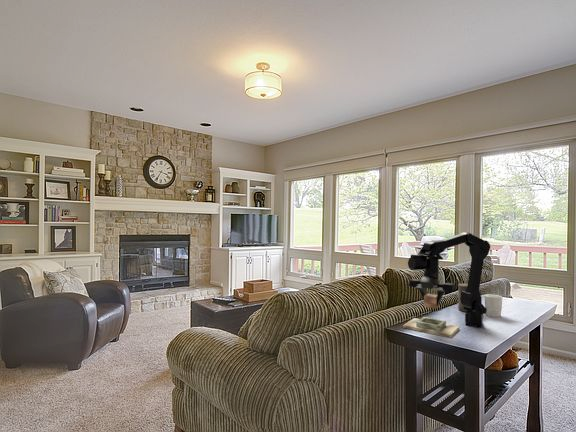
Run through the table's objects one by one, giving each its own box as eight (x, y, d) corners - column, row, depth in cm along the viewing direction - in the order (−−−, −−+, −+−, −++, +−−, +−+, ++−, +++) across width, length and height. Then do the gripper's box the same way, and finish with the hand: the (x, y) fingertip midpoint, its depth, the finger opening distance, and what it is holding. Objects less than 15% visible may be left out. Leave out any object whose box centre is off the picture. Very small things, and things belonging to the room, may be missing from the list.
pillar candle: (481, 313, 182) (481, 284, 183) (460, 312, 184) (461, 283, 184) (475, 308, 192) (475, 281, 192) (455, 307, 194) (456, 280, 194)
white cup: (480, 314, 181) (480, 294, 181) (491, 312, 184) (492, 293, 184) (494, 318, 174) (494, 298, 174) (506, 316, 177) (506, 296, 177)
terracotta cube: (438, 306, 158) (438, 295, 158) (435, 308, 154) (435, 297, 154) (427, 304, 161) (427, 293, 161) (423, 306, 157) (423, 295, 157)
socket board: (459, 329, 157) (459, 322, 157) (450, 337, 146) (451, 329, 146) (414, 320, 169) (414, 313, 169) (403, 327, 158) (403, 320, 158)
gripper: (404, 269, 157) (404, 304, 157) (449, 274, 146) (448, 311, 146) (413, 266, 166) (412, 299, 166) (455, 270, 154) (455, 306, 154)
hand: (431, 304), depth 158 cm, fingers closed on terracotta cube, 5 cm apart
